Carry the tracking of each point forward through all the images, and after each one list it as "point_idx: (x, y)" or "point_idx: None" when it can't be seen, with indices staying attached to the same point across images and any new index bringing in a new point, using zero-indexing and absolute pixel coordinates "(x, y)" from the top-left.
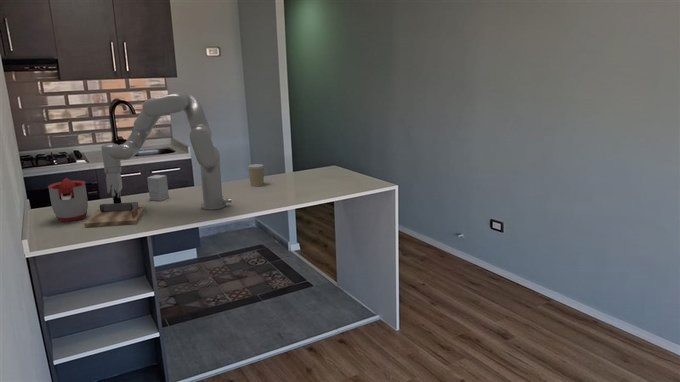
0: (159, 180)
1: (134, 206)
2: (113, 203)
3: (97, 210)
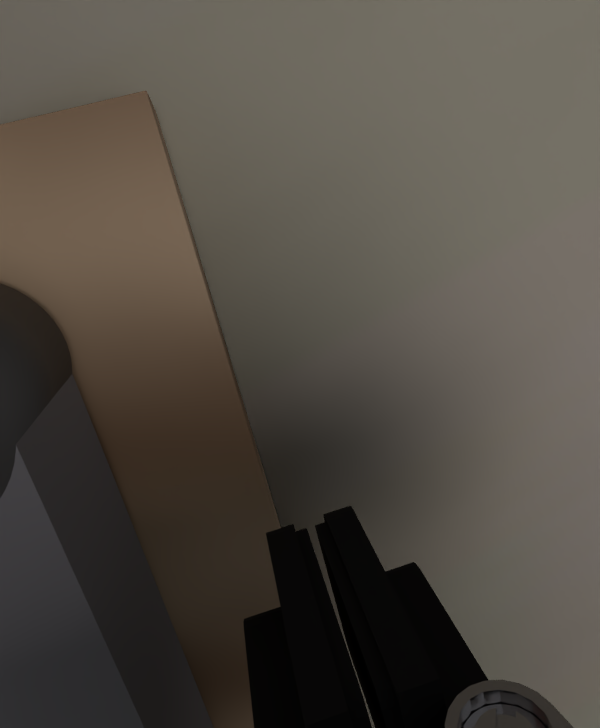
0: None
1: None
2: (117, 694)
3: (32, 118)
